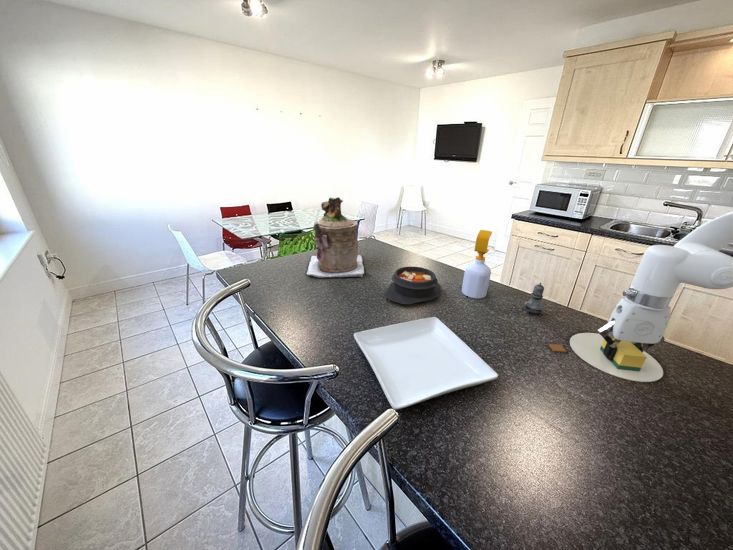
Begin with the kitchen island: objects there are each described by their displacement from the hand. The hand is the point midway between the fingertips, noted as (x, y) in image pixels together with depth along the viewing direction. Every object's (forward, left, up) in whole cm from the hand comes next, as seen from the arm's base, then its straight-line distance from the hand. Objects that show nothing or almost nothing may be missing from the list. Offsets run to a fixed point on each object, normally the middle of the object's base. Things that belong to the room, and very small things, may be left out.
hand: (619, 357), depth 77 cm
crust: (+14, -2, -2) cm, 14 cm away
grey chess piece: (+14, -22, -2) cm, 26 cm away
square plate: (+52, +10, -2) cm, 53 cm away
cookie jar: (+89, -48, -2) cm, 101 cm away
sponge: (0, 0, -1) cm, 1 cm away
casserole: (+54, -29, -2) cm, 62 cm away
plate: (0, -2, -2) cm, 3 cm away
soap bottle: (+31, -34, -2) cm, 46 cm away
